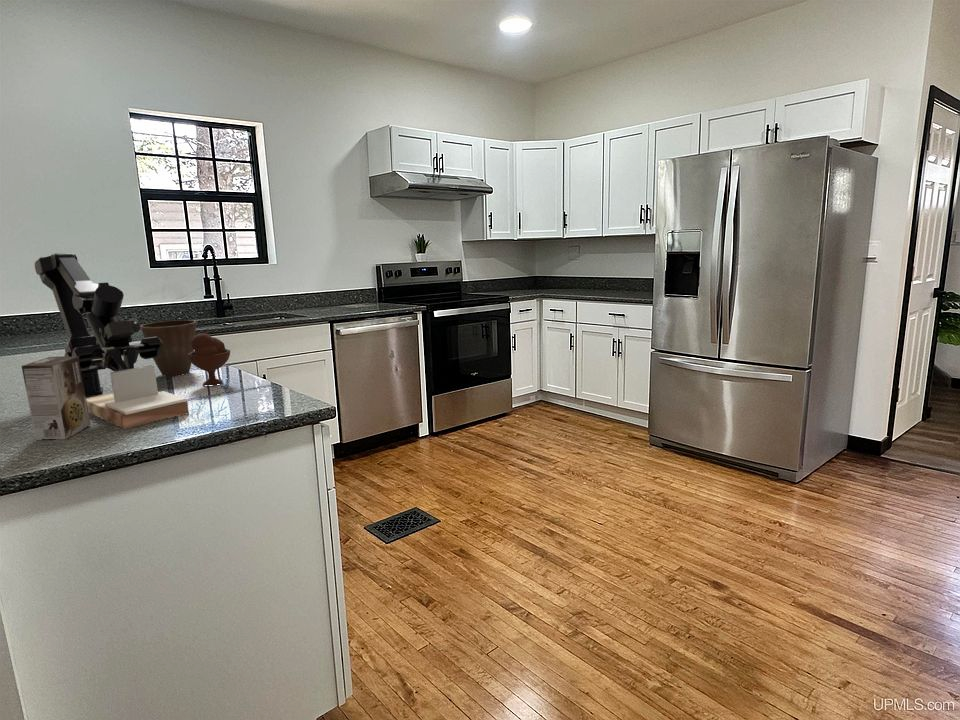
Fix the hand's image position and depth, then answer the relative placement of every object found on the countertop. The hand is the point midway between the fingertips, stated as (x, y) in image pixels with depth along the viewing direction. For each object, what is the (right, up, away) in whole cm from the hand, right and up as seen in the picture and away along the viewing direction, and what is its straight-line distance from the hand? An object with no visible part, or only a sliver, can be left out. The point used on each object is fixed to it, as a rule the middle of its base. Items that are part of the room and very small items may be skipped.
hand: (132, 379), depth 135 cm
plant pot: (-13, 0, +42) cm, 44 cm away
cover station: (0, -8, +2) cm, 8 cm away
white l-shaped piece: (+5, -5, -3) cm, 8 cm away
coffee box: (-7, -11, -12) cm, 18 cm away
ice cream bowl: (+6, -3, +28) cm, 29 cm away
